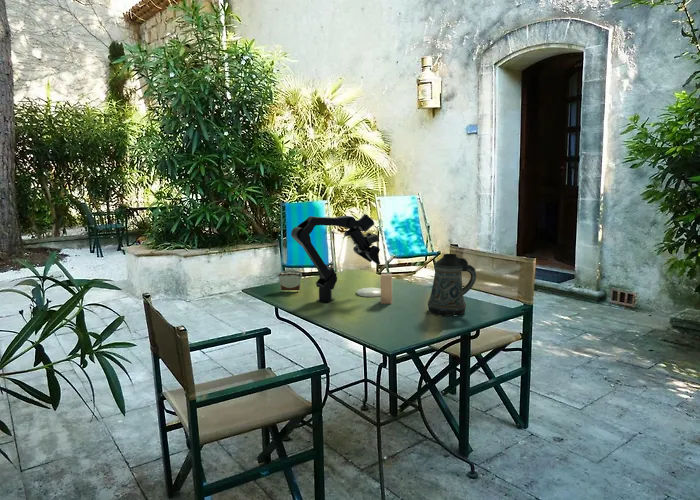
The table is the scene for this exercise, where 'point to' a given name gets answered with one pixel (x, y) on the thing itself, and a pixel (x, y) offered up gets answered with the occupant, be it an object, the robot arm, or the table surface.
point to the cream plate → (369, 292)
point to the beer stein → (450, 286)
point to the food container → (290, 280)
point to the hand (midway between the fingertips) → (375, 263)
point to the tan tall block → (386, 288)
